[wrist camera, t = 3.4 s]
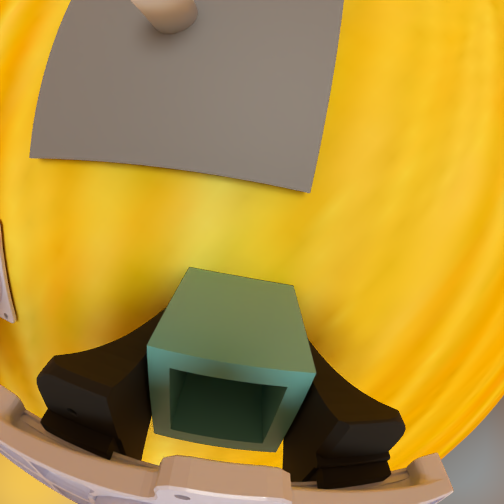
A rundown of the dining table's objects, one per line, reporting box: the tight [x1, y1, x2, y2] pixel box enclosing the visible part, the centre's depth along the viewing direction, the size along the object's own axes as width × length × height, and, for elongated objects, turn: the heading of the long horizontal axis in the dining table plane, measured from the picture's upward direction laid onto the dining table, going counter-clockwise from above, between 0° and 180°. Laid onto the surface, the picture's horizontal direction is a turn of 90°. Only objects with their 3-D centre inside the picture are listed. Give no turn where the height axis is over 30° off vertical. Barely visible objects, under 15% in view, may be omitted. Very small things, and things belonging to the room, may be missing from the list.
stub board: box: [30, 0, 344, 193], centre depth 7 cm, size 14×14×4 cm
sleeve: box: [147, 267, 316, 452], centre depth 11 cm, size 5×5×6 cm
